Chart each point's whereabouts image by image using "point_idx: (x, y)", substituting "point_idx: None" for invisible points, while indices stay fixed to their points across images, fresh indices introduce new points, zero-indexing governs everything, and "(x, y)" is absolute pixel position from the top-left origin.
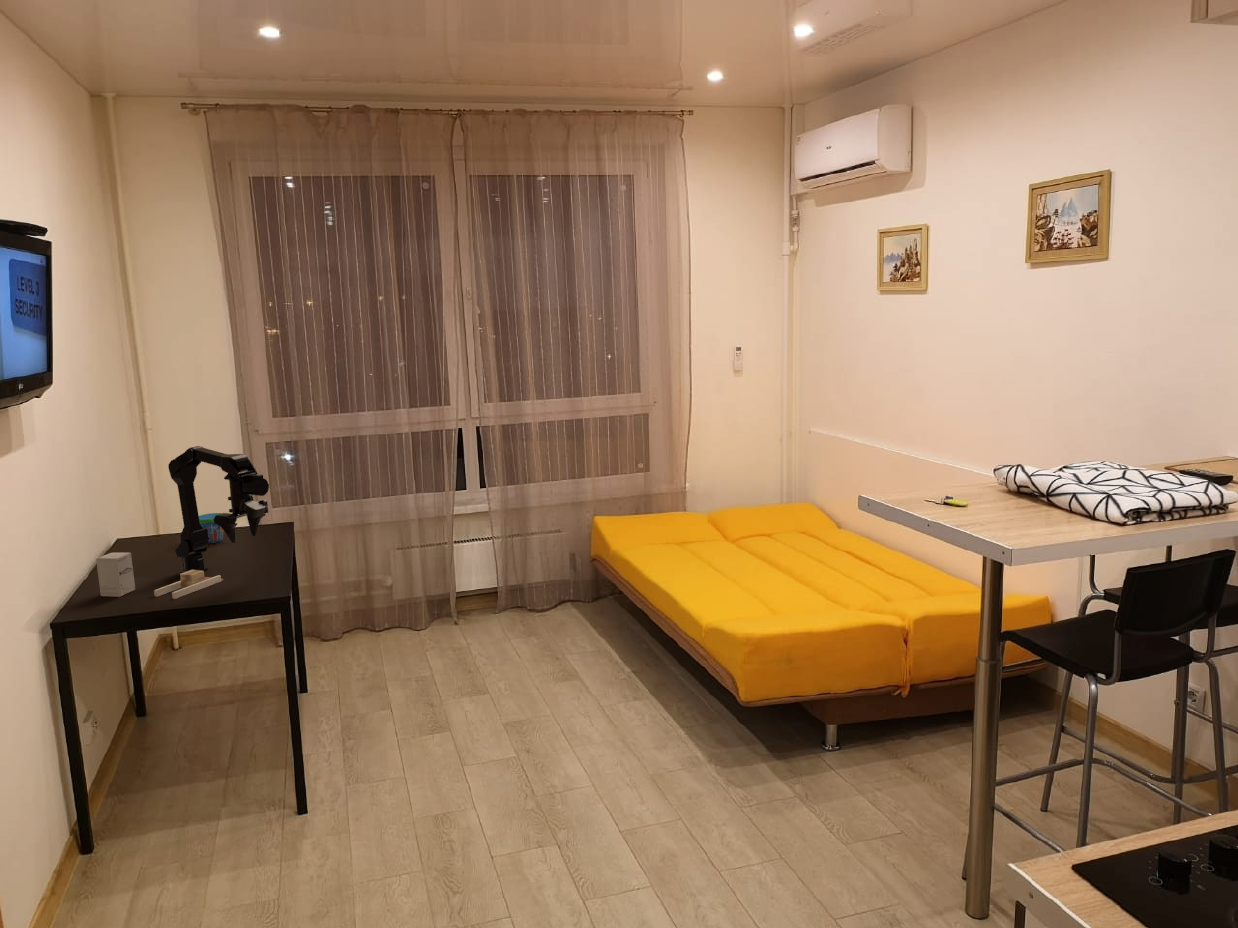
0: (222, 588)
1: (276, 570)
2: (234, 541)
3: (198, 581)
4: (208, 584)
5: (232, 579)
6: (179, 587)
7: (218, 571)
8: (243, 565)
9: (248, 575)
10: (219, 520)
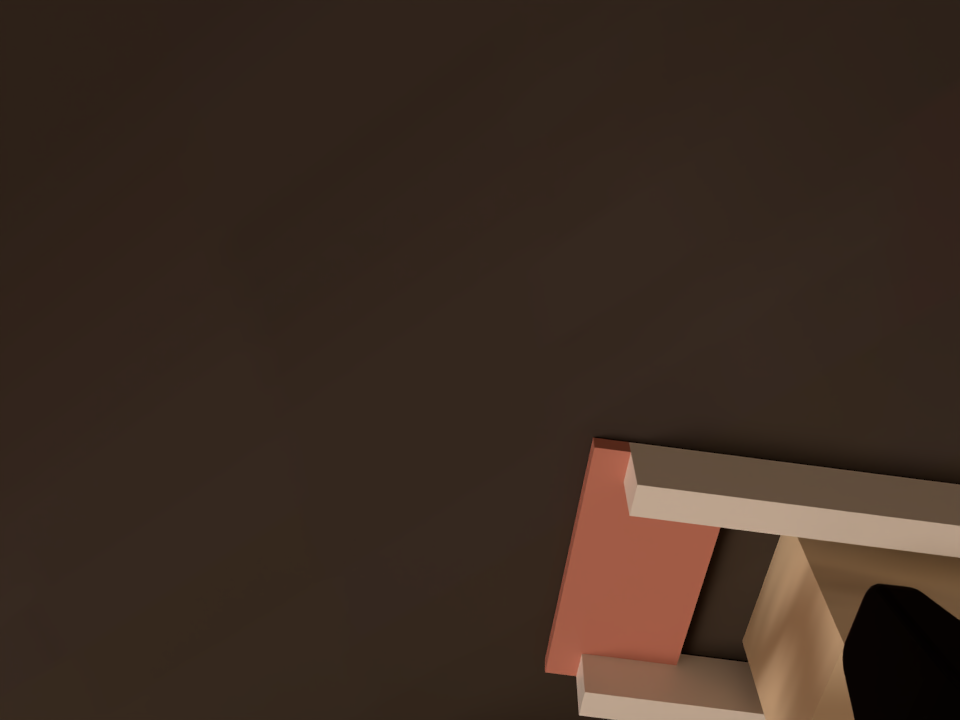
0: (923, 251)
1: (24, 14)
2: (930, 611)
3: (905, 576)
4: (826, 478)
5: (540, 362)
6: None
7: (307, 659)
8: (42, 556)
9: (347, 271)
10: None
